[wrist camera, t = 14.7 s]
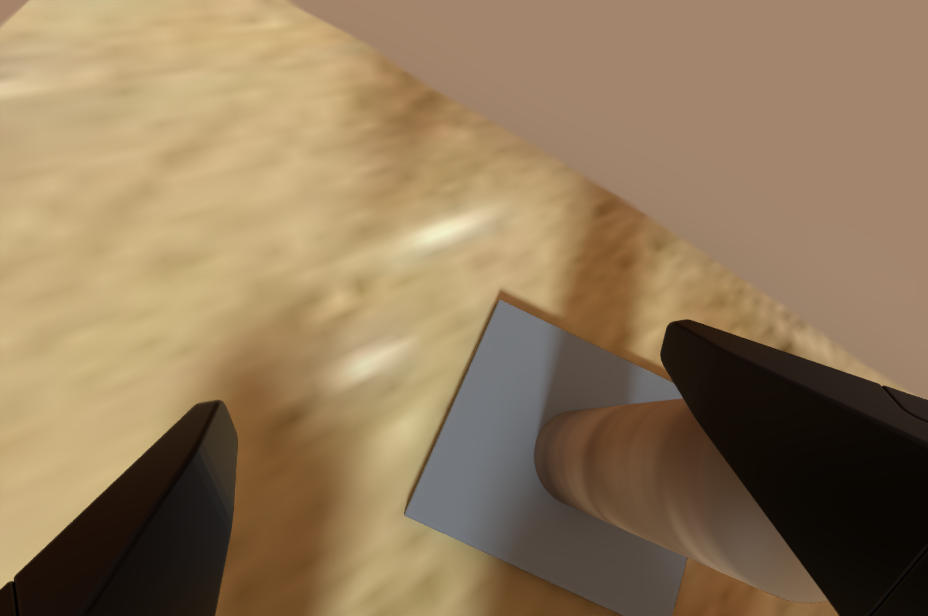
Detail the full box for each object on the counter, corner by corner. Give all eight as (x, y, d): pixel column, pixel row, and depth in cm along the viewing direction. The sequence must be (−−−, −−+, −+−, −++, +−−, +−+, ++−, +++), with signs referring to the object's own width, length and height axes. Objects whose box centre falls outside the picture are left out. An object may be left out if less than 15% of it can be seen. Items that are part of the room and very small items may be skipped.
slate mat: (659, 630, 21) (667, 636, 21) (404, 512, 21) (404, 515, 20) (718, 408, 25) (725, 408, 24) (497, 302, 24) (499, 299, 24)
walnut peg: (640, 466, 22) (919, 507, 10) (574, 528, 21) (803, 654, 9) (582, 392, 23) (785, 350, 11) (515, 448, 22) (660, 471, 10)
